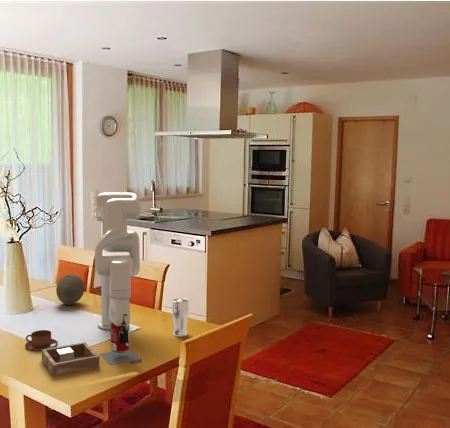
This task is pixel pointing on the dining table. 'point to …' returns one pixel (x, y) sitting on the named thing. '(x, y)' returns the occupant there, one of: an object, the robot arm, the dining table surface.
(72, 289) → the cantaloupe
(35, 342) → the cup and saucer
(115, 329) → the soda can
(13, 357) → the dining table surface
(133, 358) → the slate mat
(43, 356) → the walnut crate
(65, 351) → the metal block
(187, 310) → the beer glass
